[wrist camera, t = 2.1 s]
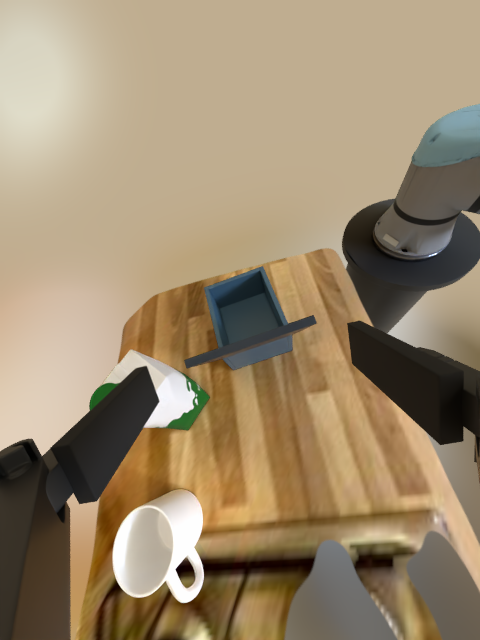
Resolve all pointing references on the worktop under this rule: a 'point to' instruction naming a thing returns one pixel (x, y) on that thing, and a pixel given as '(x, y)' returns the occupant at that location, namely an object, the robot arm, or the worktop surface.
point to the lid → (251, 342)
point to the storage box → (246, 315)
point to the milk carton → (159, 392)
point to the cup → (159, 546)
